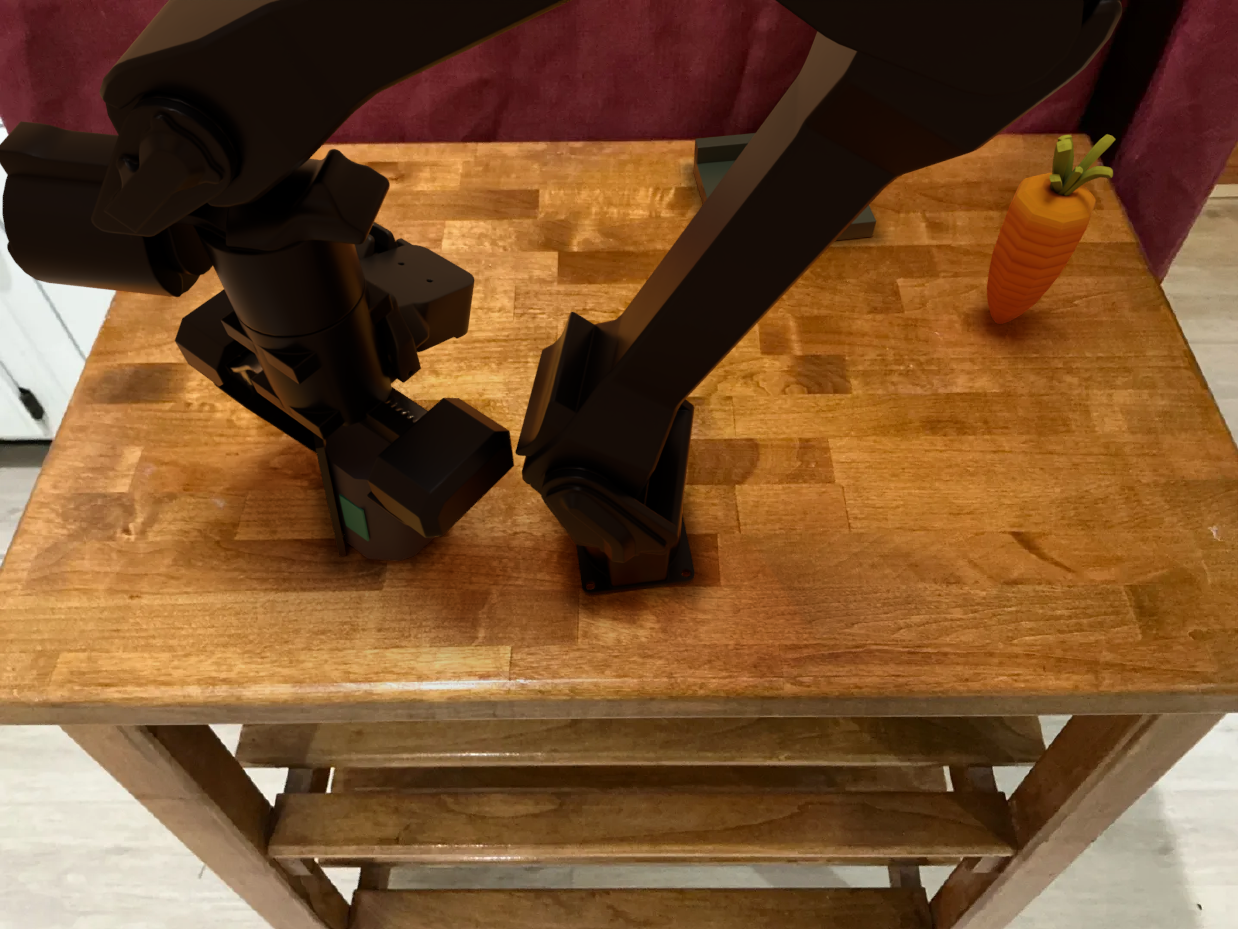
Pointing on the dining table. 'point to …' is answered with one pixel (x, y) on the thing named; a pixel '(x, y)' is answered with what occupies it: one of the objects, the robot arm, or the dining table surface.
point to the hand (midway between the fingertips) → (375, 485)
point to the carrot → (1042, 230)
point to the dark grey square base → (719, 157)
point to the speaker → (361, 497)
